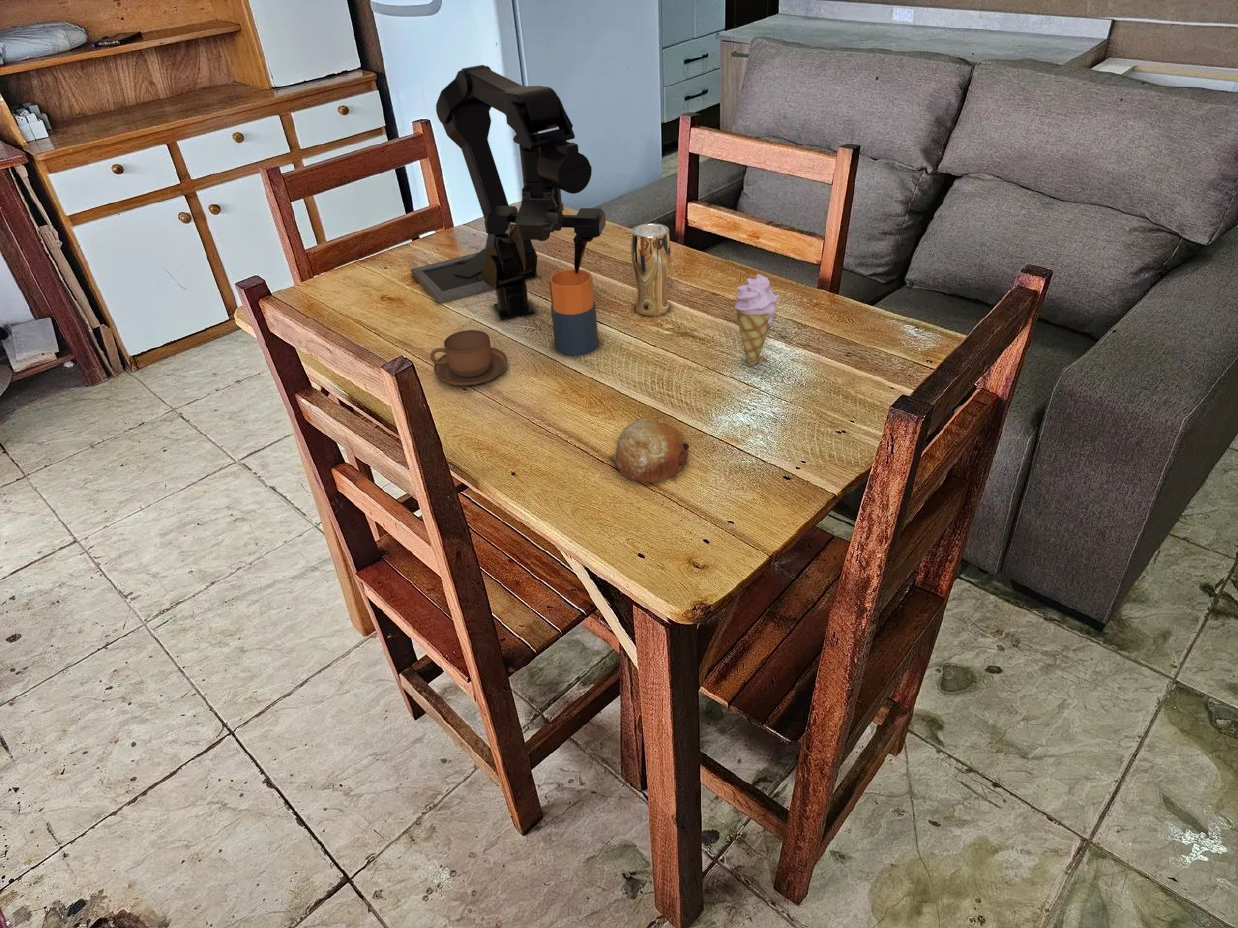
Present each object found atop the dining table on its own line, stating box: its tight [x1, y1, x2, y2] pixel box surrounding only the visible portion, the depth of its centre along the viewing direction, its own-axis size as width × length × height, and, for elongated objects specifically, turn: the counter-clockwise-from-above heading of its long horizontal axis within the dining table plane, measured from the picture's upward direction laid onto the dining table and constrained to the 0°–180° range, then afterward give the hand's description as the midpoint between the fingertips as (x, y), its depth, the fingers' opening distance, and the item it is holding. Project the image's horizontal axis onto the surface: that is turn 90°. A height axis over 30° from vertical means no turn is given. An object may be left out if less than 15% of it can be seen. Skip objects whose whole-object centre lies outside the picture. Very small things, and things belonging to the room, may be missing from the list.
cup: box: [548, 268, 595, 315], centre depth 138 cm, size 7×7×5 cm
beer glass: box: [630, 223, 671, 317], centre depth 149 cm, size 7×7×15 cm
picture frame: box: [410, 248, 538, 304], centre depth 169 cm, size 16×2×21 cm
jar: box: [550, 301, 599, 357], centre depth 141 cm, size 7×8×8 cm
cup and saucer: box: [429, 329, 508, 387], centre depth 135 cm, size 12×12×6 cm
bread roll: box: [613, 417, 690, 483], centre depth 114 cm, size 10×10×8 cm
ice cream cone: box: [734, 273, 782, 366], centre depth 131 cm, size 7×6×15 cm
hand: (550, 271), depth 138 cm, fingers open, 9 cm apart
